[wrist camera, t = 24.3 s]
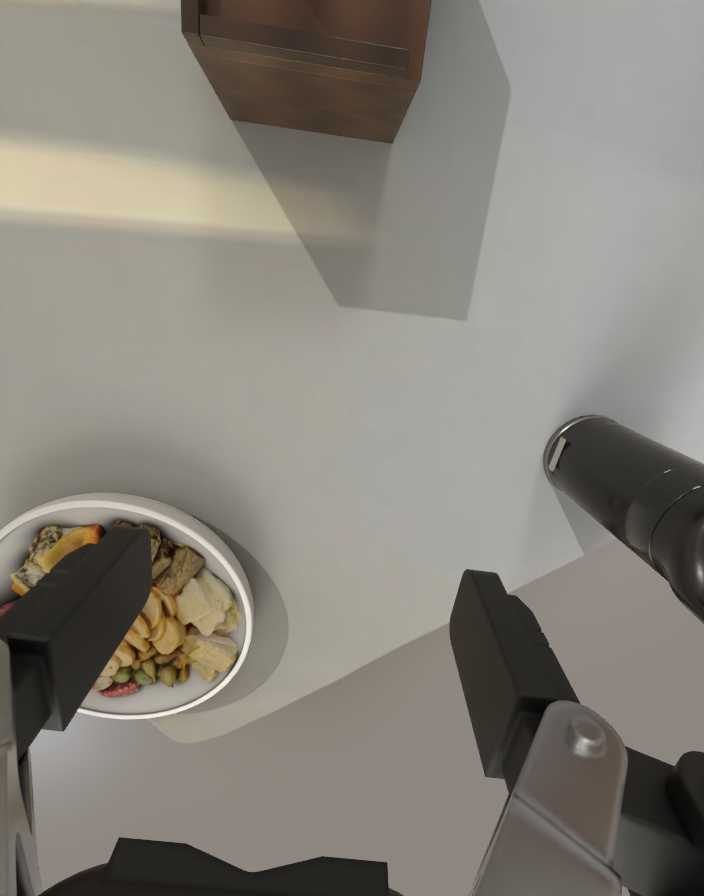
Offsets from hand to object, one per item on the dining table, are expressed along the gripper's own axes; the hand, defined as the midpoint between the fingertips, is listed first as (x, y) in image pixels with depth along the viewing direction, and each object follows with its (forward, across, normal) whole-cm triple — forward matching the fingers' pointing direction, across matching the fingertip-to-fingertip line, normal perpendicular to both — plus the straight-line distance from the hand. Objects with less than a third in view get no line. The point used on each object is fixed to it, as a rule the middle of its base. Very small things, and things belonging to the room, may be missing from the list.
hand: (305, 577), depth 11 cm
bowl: (+33, +22, +32) cm, 51 cm away
